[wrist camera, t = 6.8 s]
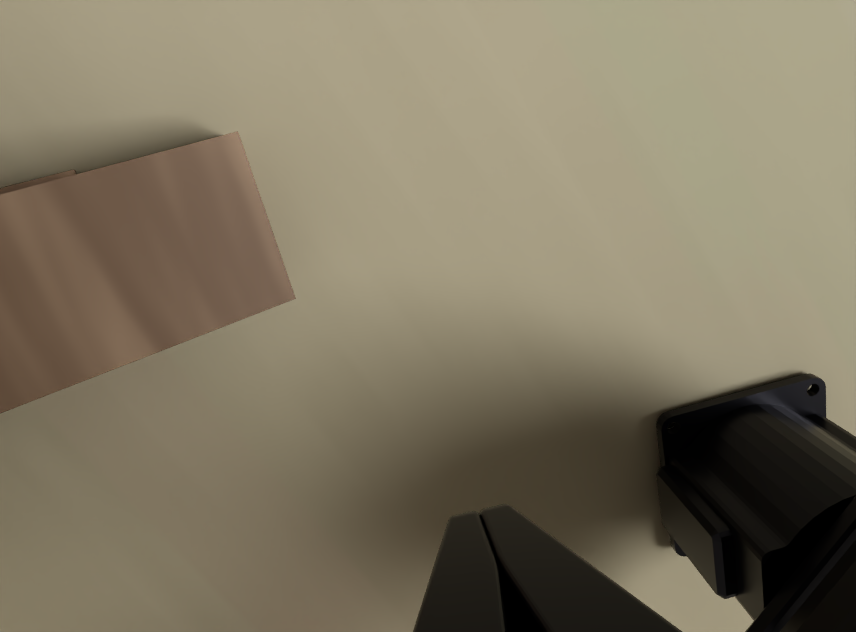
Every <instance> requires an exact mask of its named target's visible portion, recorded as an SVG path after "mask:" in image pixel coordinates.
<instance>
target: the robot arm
mask: <svg viewBox="0 0 856 632" xmlns="http://www.w3.org/2000/svg"><path fill="white" fill-rule="evenodd" d="M810 385H812V386H811V388H810V389H809V390H808V391H807V388H808V387H809V386H810ZM672 422H675V425H674V426H673V427H672V428H670V429H668V426H669V425H670V424H671V423H672ZM656 428H657V437H658V445H659V453H660V461H661V467H659V469H658V471H657V474H656V476H657V484H658V492H659V500H660V508H661V516H662V523H663V525H664V527H665V528H666V529H667V531H668V532H669V536H670V543H671V546H672V547H673V549H674V550H675V551H676V553H677V554H679V555H680V556H687V557H688V558H689V559H690V561H691V562H692V563H693V565H694V566H695V567H696V569H697V570H698V571H699V572H700V574H701V575H702V576H703V578H704V579H705V580H706V582H707V583H708V584H709V585H710V587H711V588H712V589H713V591H714V592H715V593H716V594H717V595H719V596H720V597H722V598H724V599H727V598H731V597H734V596H735V598H736V599H737V600H738V601H739V603H740V604H741V605H742V606H743V608H744V609H745V610H746V611H747V613H748V614H749V615H750V616H751V618H752V619H753V620H754V622H753V623H752V624H751V625H750V626H749V628H748V629H747V630H746V631H745V632H856V437H855V436H854V435H852V434H850V433H849V432H847V431H846V430H844V429H843V428H841V427H839V426H838V425H836V424H835V423H833V422H832V421H830V420H828V419H827V418H826V386H825V382H824V381H823V380H822V379H820V378H819V377H817V376H815V375H813V374H803V375H800V376H796V377H792V378H789V379H785V380H781V381H778V382H774V383H770V384H767V385H763V386H759V387H756V388H752V389H748V390H745V391H741V392H737V393H734V394H730V395H726V396H723V397H719V398H715V399H712V400H708V401H704V402H701V403H697V404H693V405H690V406H686V407H682V408H679V409H675V410H671V411H668V412H665V413H663V414H662V415H661V416H660V417H659V418H658V420H657V424H656ZM413 632H682V631H681V630H679V629H678V628H677V627H675V626H674V625H672V624H671V623H670V622H668V621H667V620H666V619H664V618H663V617H662V616H660V615H659V614H657V613H656V612H655V611H653V610H652V609H651V608H649V607H648V606H647V605H645V604H644V603H642V602H641V601H640V600H638V599H637V598H636V597H634V596H633V595H632V594H630V593H629V592H627V591H626V590H625V589H623V588H622V587H621V586H619V585H618V584H617V583H615V582H614V581H612V580H611V579H610V578H608V577H607V576H606V575H604V574H603V573H602V572H600V571H599V570H597V569H596V568H595V567H593V566H592V565H591V564H589V563H588V562H587V561H585V560H584V559H582V558H581V557H580V556H578V555H577V554H576V553H574V552H573V551H572V550H570V549H569V548H567V547H566V546H565V545H563V544H562V543H561V542H559V541H558V540H557V539H555V538H554V537H552V536H551V535H550V534H548V533H547V532H546V531H544V530H543V529H542V528H540V527H539V526H537V525H536V524H535V523H533V522H532V521H531V520H529V519H528V518H527V517H525V516H524V515H522V514H521V513H520V512H518V511H517V510H516V509H514V508H513V507H512V506H510V505H508V504H502V505H498V506H494V507H489V508H485V509H482V510H481V511H480V515H479V513H478V512H476V511H472V512H467V513H463V514H458V515H454V516H451V517H450V518H449V520H448V523H447V526H446V529H445V532H444V535H443V538H442V542H441V545H440V548H439V551H438V554H437V557H436V561H435V564H434V567H433V570H432V573H431V576H430V579H429V583H428V586H427V589H426V592H425V595H424V598H423V602H422V605H421V608H420V611H419V614H418V617H417V621H416V624H415V627H414V630H413Z"/></svg>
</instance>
